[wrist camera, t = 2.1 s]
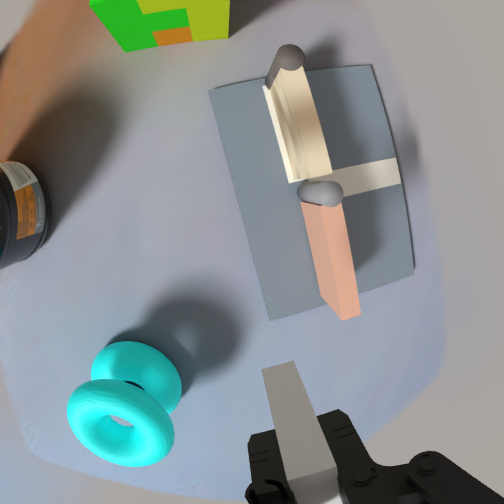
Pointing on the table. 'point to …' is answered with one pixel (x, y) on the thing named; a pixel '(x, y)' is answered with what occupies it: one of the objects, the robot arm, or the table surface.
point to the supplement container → (21, 212)
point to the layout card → (344, 173)
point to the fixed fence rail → (297, 114)
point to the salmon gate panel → (330, 245)
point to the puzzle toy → (162, 21)
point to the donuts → (127, 405)
